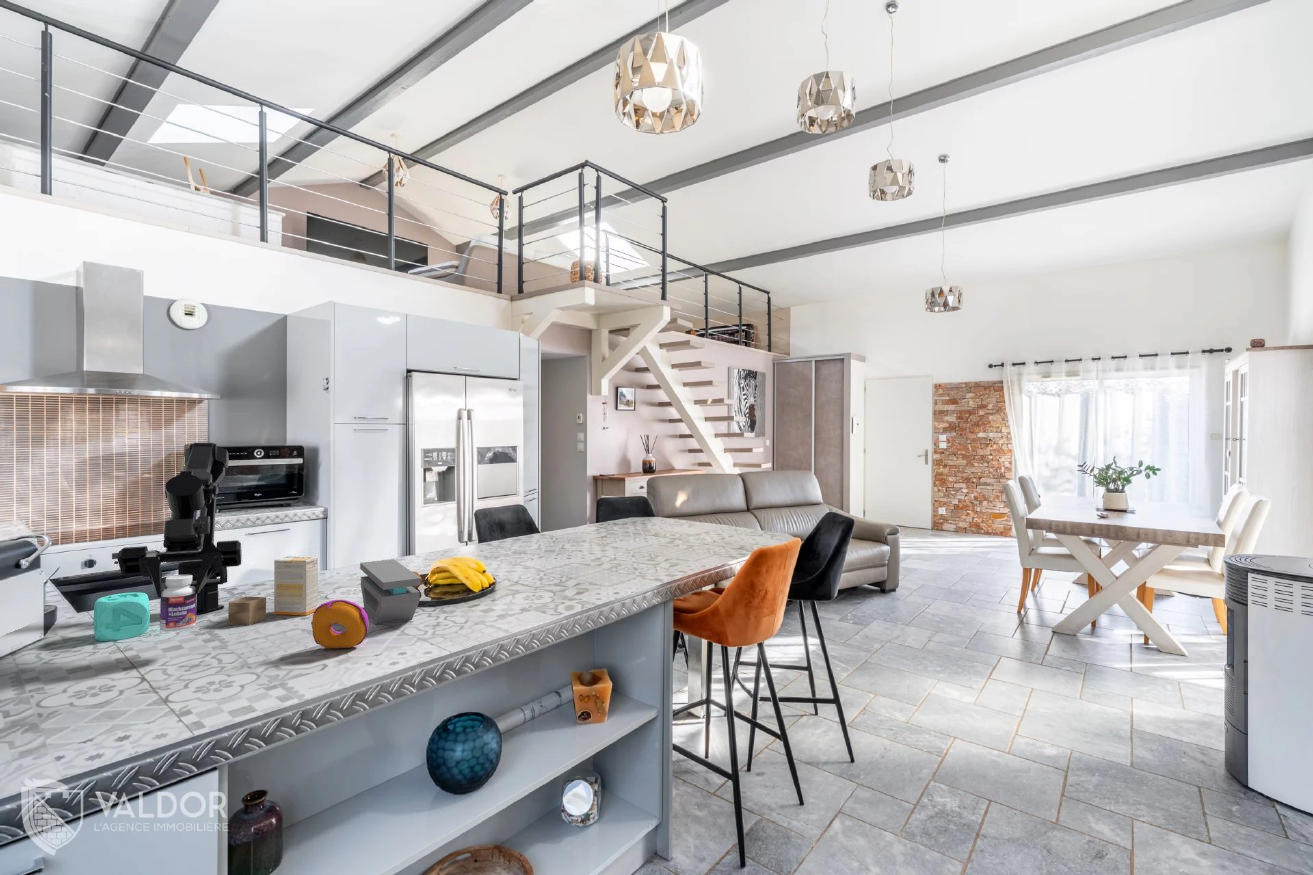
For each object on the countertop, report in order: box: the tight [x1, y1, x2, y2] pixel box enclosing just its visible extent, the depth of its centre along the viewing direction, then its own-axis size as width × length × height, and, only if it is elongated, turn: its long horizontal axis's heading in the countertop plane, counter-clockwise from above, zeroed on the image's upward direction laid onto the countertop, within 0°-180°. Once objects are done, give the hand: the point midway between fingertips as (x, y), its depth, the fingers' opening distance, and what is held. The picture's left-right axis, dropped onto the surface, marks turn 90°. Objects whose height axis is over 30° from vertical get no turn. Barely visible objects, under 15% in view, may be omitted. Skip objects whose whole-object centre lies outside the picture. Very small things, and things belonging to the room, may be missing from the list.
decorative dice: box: [93, 591, 151, 642], centre depth 125 cm, size 8×8×8 cm
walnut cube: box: [227, 596, 267, 626], centre depth 135 cm, size 5×5×5 cm
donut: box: [310, 599, 370, 650], centre depth 118 cm, size 8×9×10 cm
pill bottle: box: [159, 574, 197, 632], centre depth 113 cm, size 5×5×10 cm
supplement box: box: [273, 555, 319, 616], centre depth 142 cm, size 8×5×13 cm, turn 84°
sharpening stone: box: [359, 558, 422, 626], centre depth 140 cm, size 25×8×11 cm, turn 37°
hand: (177, 594), depth 112 cm, fingers closed on pill bottle, 5 cm apart
